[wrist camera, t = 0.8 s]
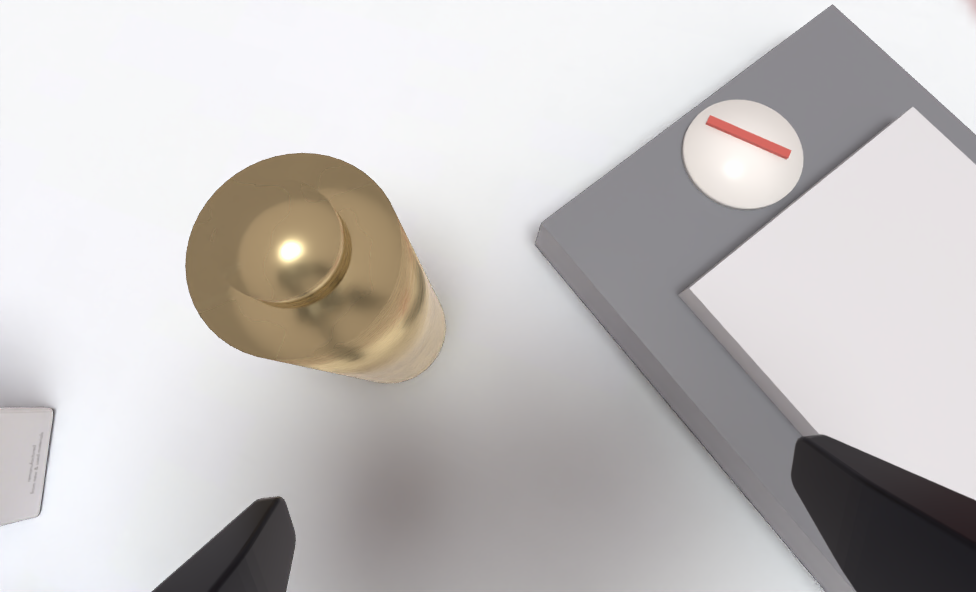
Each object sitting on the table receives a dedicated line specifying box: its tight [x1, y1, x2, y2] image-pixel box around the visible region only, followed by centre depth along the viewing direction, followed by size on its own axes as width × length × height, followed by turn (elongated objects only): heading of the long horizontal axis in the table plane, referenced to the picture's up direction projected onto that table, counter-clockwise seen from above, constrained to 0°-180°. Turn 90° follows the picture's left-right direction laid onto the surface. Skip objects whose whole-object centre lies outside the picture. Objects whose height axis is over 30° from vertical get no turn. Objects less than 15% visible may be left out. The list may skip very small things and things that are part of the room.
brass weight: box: [185, 153, 446, 384], centre depth 17 cm, size 5×5×13 cm
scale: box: [535, 4, 976, 592], centre depth 22 cm, size 18×20×4 cm
